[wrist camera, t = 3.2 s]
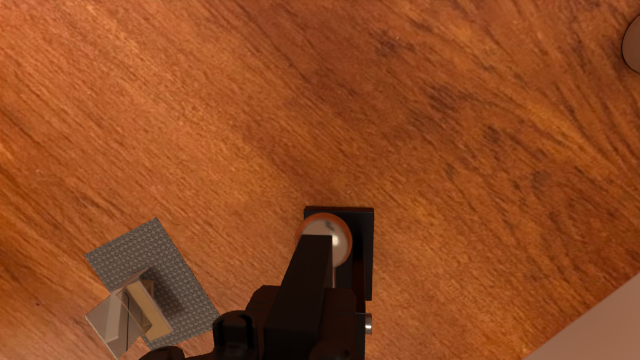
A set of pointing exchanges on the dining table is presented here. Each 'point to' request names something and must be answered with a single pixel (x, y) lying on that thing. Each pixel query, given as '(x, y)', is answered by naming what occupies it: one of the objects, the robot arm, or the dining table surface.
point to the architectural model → (147, 292)
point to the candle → (632, 45)
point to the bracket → (356, 263)
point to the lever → (329, 226)
